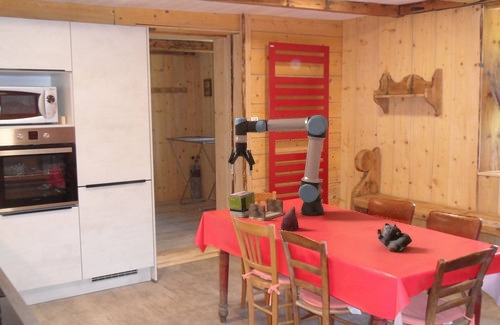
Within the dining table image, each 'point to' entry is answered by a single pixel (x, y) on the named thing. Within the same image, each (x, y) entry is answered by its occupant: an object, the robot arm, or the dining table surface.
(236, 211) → the tea box
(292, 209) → the vegetable
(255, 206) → the holder stand
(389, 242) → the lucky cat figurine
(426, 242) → the dining table surface
